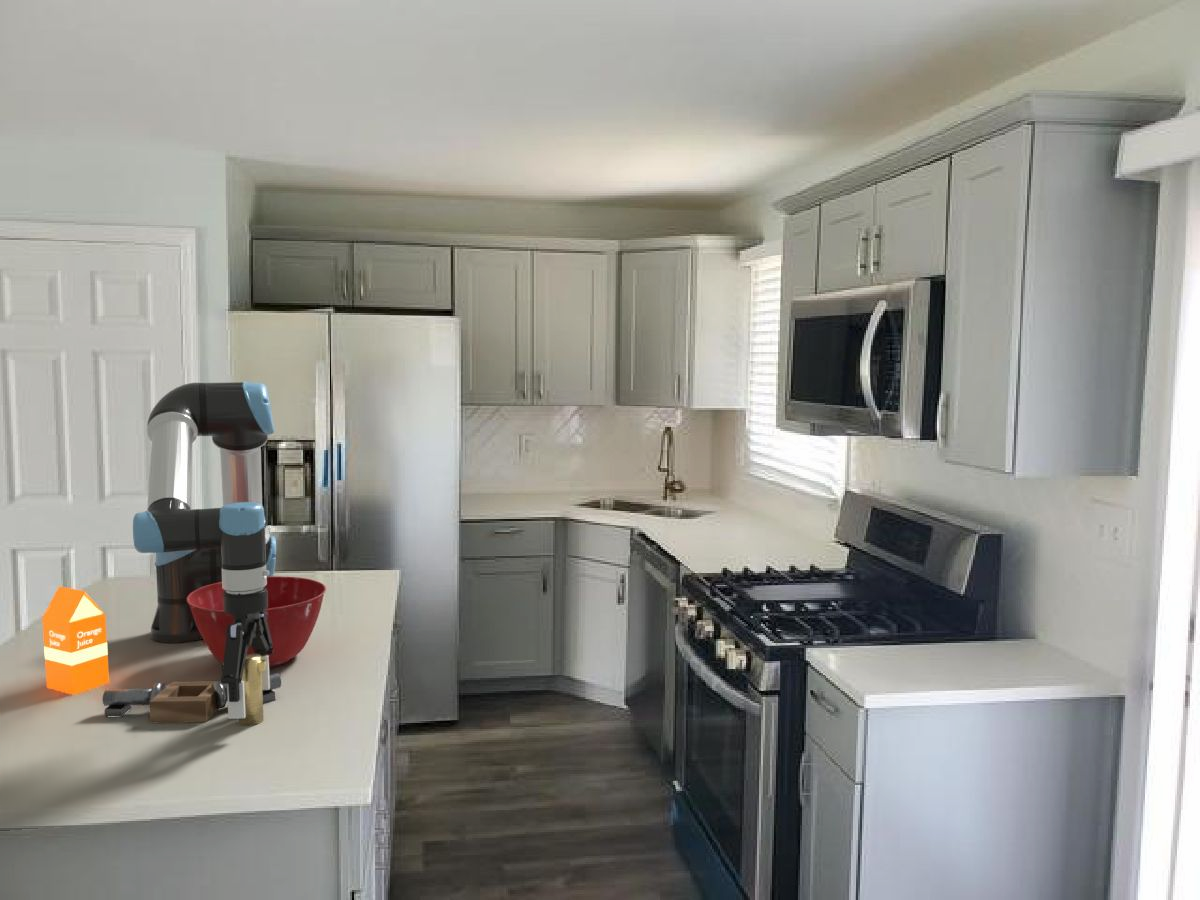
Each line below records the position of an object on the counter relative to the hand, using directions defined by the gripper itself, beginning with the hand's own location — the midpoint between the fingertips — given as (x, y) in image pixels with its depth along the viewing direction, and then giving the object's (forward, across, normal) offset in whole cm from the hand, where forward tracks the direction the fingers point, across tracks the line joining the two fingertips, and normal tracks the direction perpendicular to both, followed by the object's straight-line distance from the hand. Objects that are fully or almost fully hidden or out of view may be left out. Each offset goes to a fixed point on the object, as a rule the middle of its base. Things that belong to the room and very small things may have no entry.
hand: (250, 703), depth 166 cm
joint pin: (+3, 0, 0) cm, 3 cm away
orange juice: (+4, +20, +41) cm, 46 cm away
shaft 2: (+3, +9, +3) cm, 10 cm away
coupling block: (+3, +5, +13) cm, 14 cm away
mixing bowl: (+4, +34, +9) cm, 35 cm away
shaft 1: (+3, +5, +23) cm, 24 cm away
